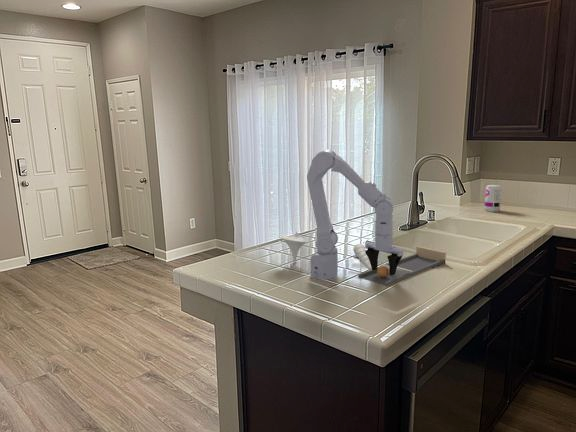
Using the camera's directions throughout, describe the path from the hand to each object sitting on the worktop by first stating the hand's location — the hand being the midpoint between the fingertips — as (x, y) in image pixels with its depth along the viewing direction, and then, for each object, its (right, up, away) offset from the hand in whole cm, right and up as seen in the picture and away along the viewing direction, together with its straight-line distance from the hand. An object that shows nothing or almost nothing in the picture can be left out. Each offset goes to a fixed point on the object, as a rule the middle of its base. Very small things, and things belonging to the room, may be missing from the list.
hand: (383, 272), depth 151 cm
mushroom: (-30, +1, +22) cm, 37 cm away
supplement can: (+87, +22, +108) cm, 141 cm away
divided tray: (+9, -4, +9) cm, 13 cm away
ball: (0, -2, 0) cm, 2 cm away
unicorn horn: (-3, +1, +19) cm, 20 cm away
